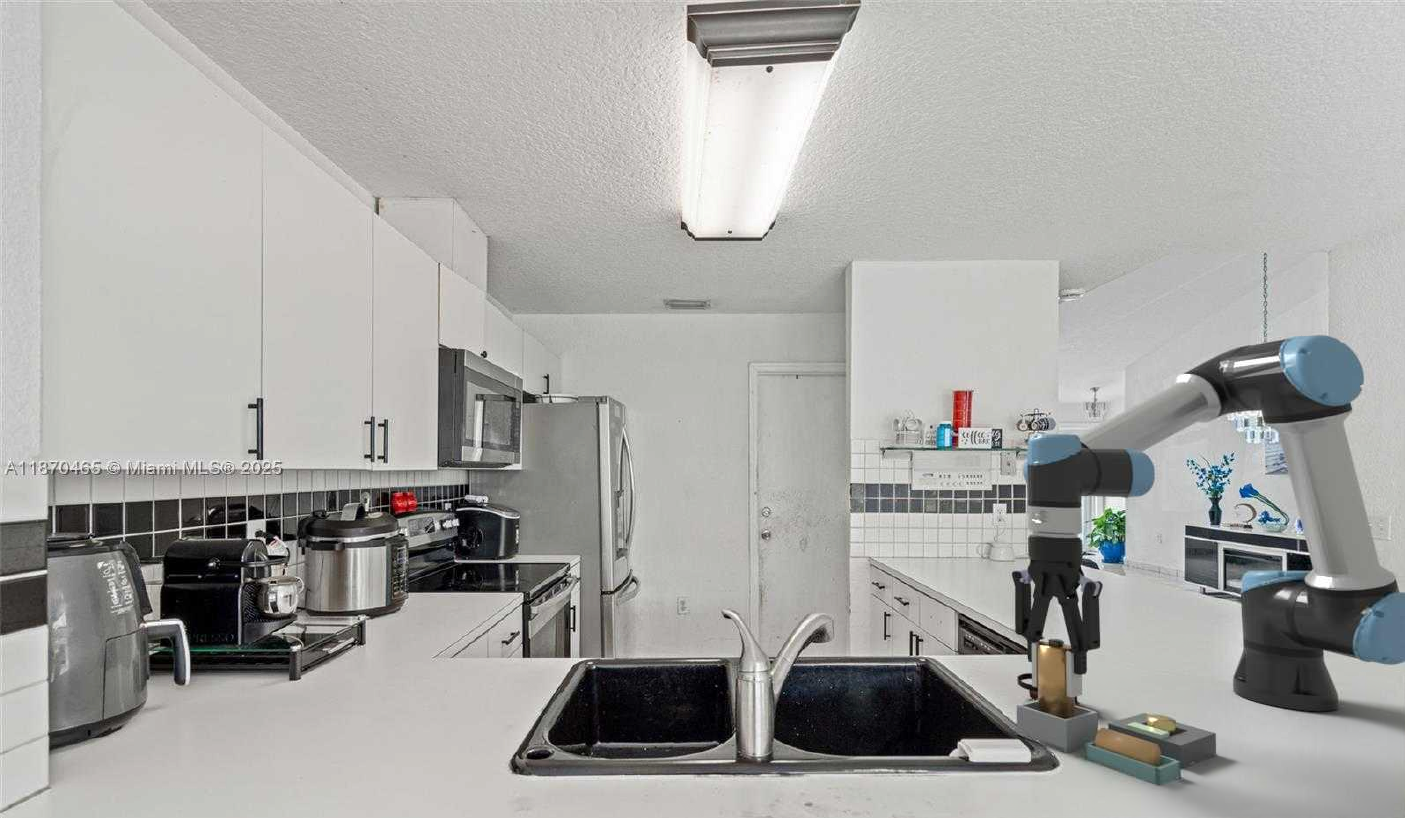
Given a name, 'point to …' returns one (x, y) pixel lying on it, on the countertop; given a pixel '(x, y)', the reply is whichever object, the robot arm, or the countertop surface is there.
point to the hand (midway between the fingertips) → (1056, 690)
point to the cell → (1054, 680)
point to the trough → (1132, 757)
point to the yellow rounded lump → (1162, 723)
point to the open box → (1058, 727)
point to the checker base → (1170, 739)
